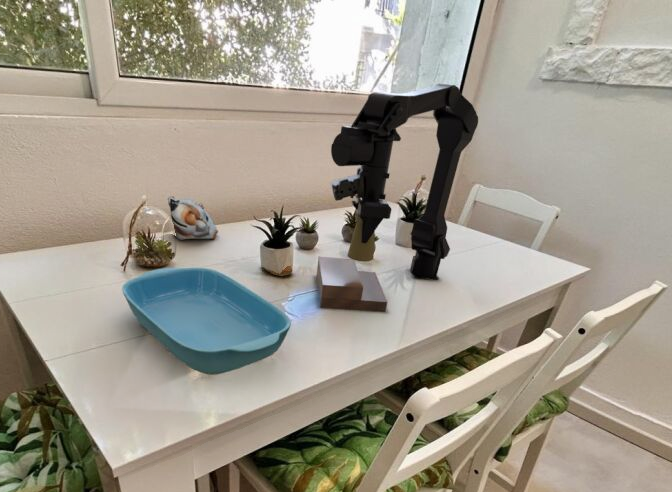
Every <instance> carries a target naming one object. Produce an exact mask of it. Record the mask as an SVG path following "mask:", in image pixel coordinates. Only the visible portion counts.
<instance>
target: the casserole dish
mask: <svg viewBox="0 0 672 492" xmlns="http://www.w3.org/2000/svg"><path fill="white" fill-rule="evenodd" d="M121 290H122V294H123V296H124V298H125V300H126V302H127V304H128V306H129V308H130V310H131V312H132V313H133V315H134V317H135V319H137V321H138V322H139V323H140V325H142V326H143V327H144V329H146V330H147V331H148V332H149V333H150V335H152V336H153V337H154V338H155V339H156V340H157V341H158V342H159V343H160V344H161V345H163V347H164V348H165V349H167V350H168V351H169V352H170V354H172V355H173V356H174V357H175V358H176V359H177V360H179V361H181V363H183V364H184V365H186V366H187V367H189V368H190V369H192V370H194V371H196V372H198V373H200V374H201V373H202V374H204V375H208V376H210V375H211V376H217V375H221V374H225V373H229V372H232V371H235V370H239V369H241V368H244V367H245V366H249V365H251V364H255V363H257V362H259V361H260V362H261V361H263V360H264V359H267V358H269V357H270V356H272V355H274V354H275V353H277V351H278V350H279V349H280V347H281V346H282V344H283V343H284V341H285V339H286V337H287V334H288V332H289V330H290V328H291V326H292V321H291V318H290V317H289V315H287V313H286V312H284V311H283V310H282V309H281V308H279V307H278V306H276V305H275V304H273V303H272V302H270V301H269V300H268V299H266V298H264V297H262V296H261V295H259V293H256V292H254V291H253V290H252V289H250V288H248V287H247V286H245V285H243V284H242V283H240V282H239V281H237V280H235V279H234V278H232V277H231V276H229V275H227V274H225V273H223V272H221V271H219V270H216V269H212V268H207V267H164V268H158V269H152V270H150V271H146V272H144V273H142V274H141V275H139V276H138V277H137V276H136V277H134V278H132V279H130V280H127V281H126V282H124V284H123V285H122V287H121Z"/></svg>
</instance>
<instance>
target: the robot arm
mask: <svg viewBox="0 0 672 492" xmlns="http://www.w3.org/2000/svg"><path fill="white" fill-rule="evenodd" d="M429 112H433V113H432V116H433V118H434V120H435V122H436V123H437V128H436V140H437V144H438V148H439V151H438V155H437V159H436V163H435V166H434V171H433V175H432V180H431V184H430V188H429V191H428V196H427V200H426V204H425V208H424V212H423V213H422V215H420V216H419V218H415V219H414V220H413V224H412V228H411V231H410V234H409V235H410V241H411V242H410V243H411V250H413V251H415V255H413V256H412V260H411V263H410V268H409V271H410V273H411V274H412V276H413V278H414V279H421V280H431V281H432V280H434V281H438V280H439V276H438V273H439V269H440V264H441V261H442V260H445V258H447V257H448V255H449V253H450V251H451V247H450V245H449V243H448V240H447V233H448V225H447V220H446V217H445V214H446V211H447V207H448V203H449V199H450V195H451V192H452V188H453V184H454V181H455V176H456V173H457V170H458V165H459V162H460V158H461V154H462V152H463V151H464V150H465V149H466V148H467V146H468V145H469V144H470V143H471V142H472V140H473V137H474V134H475V132H476V130H477V128H478V125H479V116H478V114H477V111H476V110H475V107H474V105H473V104H472V103H471V102H470V101H469V100H468V99H467V98H466V97H465V96H464V95H463V94H462V92H461V90H460V88H459V87H458V86H457V85H455V84H449V83H438V84H435V85H433V86H429V87H425V88H420V89H416V90H412V91H407V92H403V93H393V92H382V91H381V92H379V91H374V92H372V93H370V94H369V95H368V96H367V100H366V101H365V103H364V104H363V107H362V108H361V109H360V111H359V113H358V114H357V116H356V117H355V119H354V121H353V123H352V124H351V125H350V126H348V125H341V128H340V133H338V134H337V135H336V136H335V137H334V139H333V142H332V143H331V146H330V155H331V158H332V161H333V163H334V164H335V165H336V166H338V167H356V166H357V167H358V168H357V169H356V174H352V175H348V176H344V177H341V178H337V179H334V180H331V182H330V185H331V189H332V195H333V198H334V200H335V202H336V201H337V202H338V201H342V200H343V199H346V198H348V197H349V198H350V199H354V197H355V199H354V200H351V201H350V202H351V205H352V206H353V207H354V209H355V213H356V212H357V214H358V215H359V217H360V218H361V220H362V221H361V237H362V243H367V242H368V240H369V239H370V237H371V236H372V234H373V233H374V231H375V232H376V230H377V229H378V227H379V225H380V224H381V223H382V222H383V220H390V219H391V214H392V207H391V205H389V203H388V202H387V201H386V196H387V194H386V193H385V189H386V184H387V179H388V180H389V179H390V174H391V173H390V172H389V167H390V161H391V156H392V151H393V145H394V142H400V141H401V140H402V137H401V136H400V134H399V133H398V131H397V129H398V128H400V127H401V126H403V125H405V124H406V123H407V122H408V120H409V119H410V118H411V117H414V116H418V115H423V114H425V113H429ZM357 209H358V210H357Z"/></svg>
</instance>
